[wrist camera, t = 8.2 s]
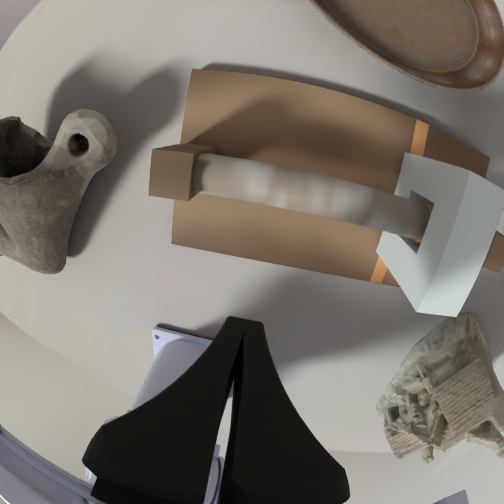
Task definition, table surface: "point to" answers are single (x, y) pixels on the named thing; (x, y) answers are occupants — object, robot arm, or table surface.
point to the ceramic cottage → (445, 393)
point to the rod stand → (298, 175)
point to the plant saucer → (426, 37)
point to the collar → (442, 234)
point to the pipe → (48, 184)
